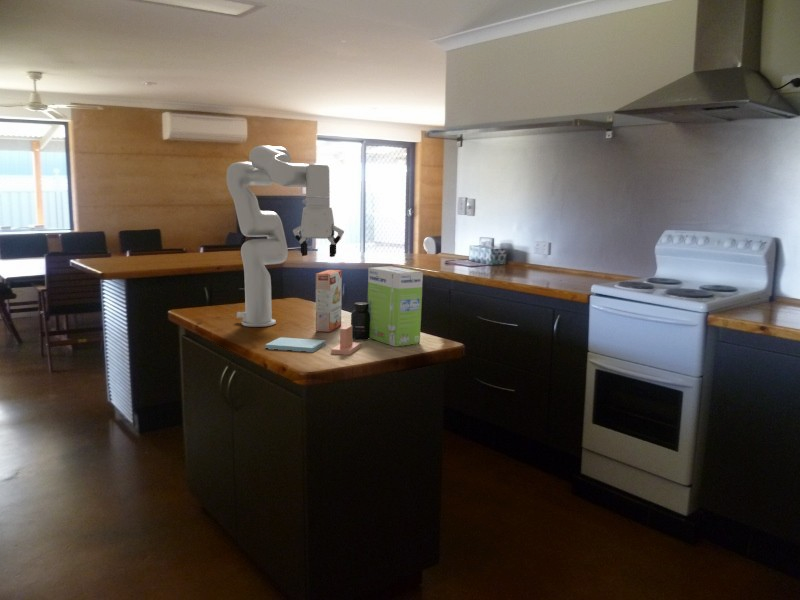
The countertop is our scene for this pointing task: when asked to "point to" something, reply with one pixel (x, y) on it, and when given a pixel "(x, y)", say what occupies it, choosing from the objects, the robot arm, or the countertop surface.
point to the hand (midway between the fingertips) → (318, 256)
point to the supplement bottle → (360, 321)
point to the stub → (346, 342)
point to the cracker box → (328, 300)
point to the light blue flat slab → (296, 344)
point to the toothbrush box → (395, 305)
